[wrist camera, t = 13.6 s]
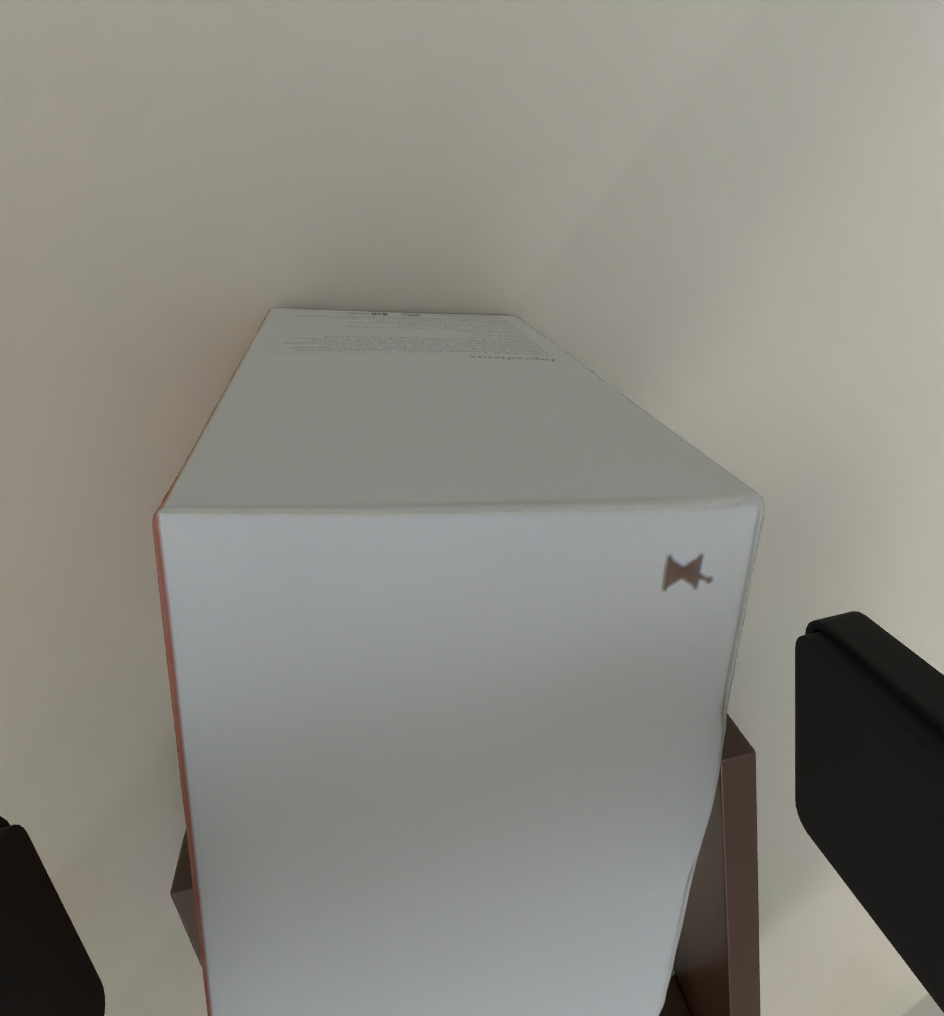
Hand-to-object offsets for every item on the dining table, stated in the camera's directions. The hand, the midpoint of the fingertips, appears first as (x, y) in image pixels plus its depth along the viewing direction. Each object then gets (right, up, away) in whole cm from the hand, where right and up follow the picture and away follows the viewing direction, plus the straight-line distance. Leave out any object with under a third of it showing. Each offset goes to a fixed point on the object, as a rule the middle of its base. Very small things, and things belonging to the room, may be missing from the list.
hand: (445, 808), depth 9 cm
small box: (-2, +5, +12) cm, 13 cm away
